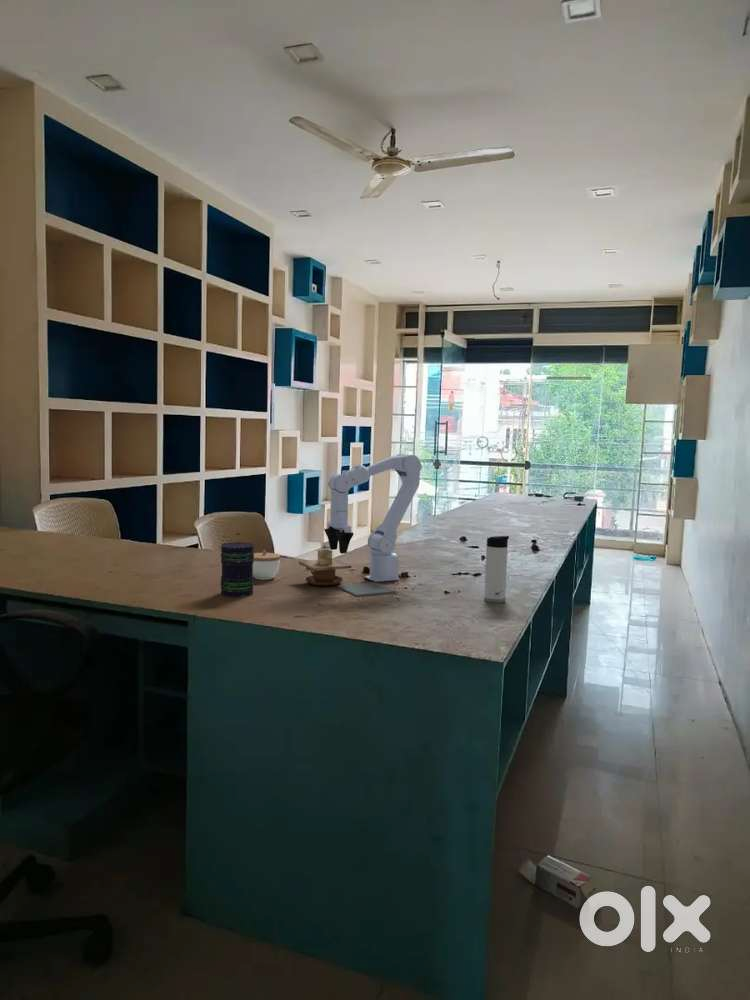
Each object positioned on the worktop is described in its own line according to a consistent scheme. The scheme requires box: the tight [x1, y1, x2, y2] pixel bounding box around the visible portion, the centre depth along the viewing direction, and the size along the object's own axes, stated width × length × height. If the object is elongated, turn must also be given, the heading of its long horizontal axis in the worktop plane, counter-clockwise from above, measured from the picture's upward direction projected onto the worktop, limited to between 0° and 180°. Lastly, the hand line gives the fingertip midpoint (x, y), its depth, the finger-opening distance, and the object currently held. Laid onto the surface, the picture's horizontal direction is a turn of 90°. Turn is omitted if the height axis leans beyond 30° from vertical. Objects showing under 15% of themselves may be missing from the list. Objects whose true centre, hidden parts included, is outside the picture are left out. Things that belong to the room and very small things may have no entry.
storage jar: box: [220, 532, 255, 598], centre depth 207 cm, size 10×10×18 cm
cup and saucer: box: [305, 569, 343, 587], centre depth 225 cm, size 12×12×6 cm
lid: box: [298, 548, 352, 571], centre depth 224 cm, size 13×13×5 cm
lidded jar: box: [253, 549, 281, 581], centre depth 231 cm, size 11×11×9 cm
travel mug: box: [483, 535, 510, 604], centre depth 207 cm, size 6×7×20 cm
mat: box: [336, 581, 398, 598], centre depth 217 cm, size 14×14×1 cm
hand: (338, 551), depth 227 cm, fingers open, 7 cm apart
